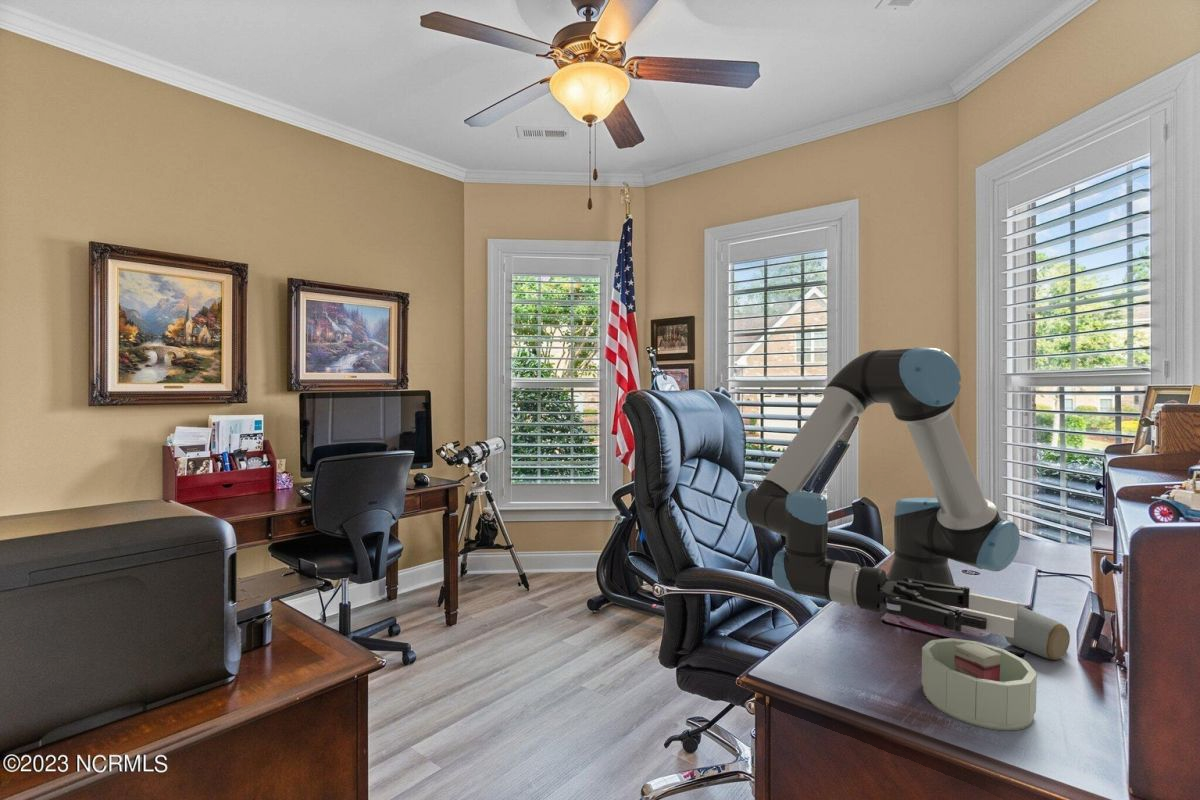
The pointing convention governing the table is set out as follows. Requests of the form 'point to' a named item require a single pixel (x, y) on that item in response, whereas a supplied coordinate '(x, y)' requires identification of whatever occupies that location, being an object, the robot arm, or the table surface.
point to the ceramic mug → (1039, 634)
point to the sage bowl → (979, 688)
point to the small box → (977, 661)
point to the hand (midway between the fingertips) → (1015, 619)
